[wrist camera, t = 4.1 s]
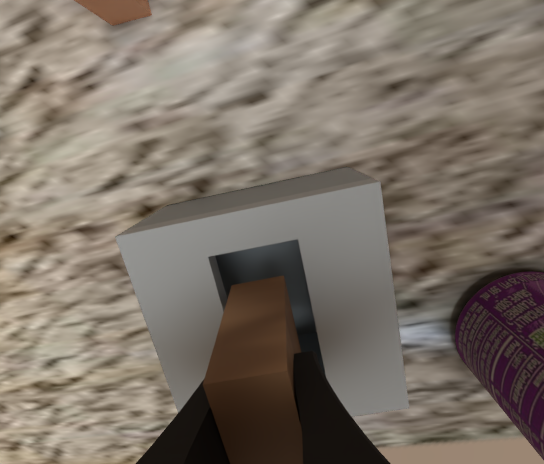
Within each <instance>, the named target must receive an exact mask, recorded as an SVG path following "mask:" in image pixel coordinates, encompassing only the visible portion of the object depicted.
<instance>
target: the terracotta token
mask: <svg viewBox="0 0 544 464" xmlns="http://www.w3.org/2000/svg"><path fill="white" fill-rule="evenodd" d="M75 1H76V2H78V3H79V4H81V5H82V6H84V7H85V8H87V9H88V10H90V11H91V12H93V13H94V14H96V15H97V16H99V17H100V18H102V19H103V20H105V21H106V22H108V23H110V24H111V25H117V24H121V23H124V22H128V21H132V20H136V19H139V18H143V17H147V16H151V15H152V13H151V10H150V6H149V3H148V0H75Z"/></svg>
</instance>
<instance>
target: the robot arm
mask: <svg viewBox="0 0 544 464" xmlns="http://www.w3.org/2000/svg"><path fill="white" fill-rule="evenodd" d="M293 377H294V383H295V389H296V395H297V401H298V407H299V413H300V419H301V428H302V444H303V464H390V463H389V462H388V461H387V459H386V458H385V457H384V456H383V455H382V454H381V453H380V452H379V451H378V449H377V448H376V447H375V446H374V445H373V443H372V442H371V441H370V440H369V439H368V438H367V436H366V435H365V434H364V433H363V431H362V430H361V429H360V428H359V426H358V425H357V424H356V422H355V421H354V420H353V418H352V417H351V416H350V414H349V413H348V411H347V410H346V409H345V407H344V406H343V404H342V403H341V401H340V400H339V398H338V397H337V395H336V393H335V392H334V390H333V389H332V387H331V385H330V384H329V382H328V380H327V378H326V376H325V374H324V372H323V371H322V368H321V366H320V364H319V361H318V358H317V354H316V353H315V352H314V351H307V352H301V353H295V354H294V361H293ZM204 379H205V378H204ZM203 382H204V380H203V381H202V382H201V384H200V385H199V386H198V388H197V389H196V390H195V392H194V393H193V394H192V396H191V397H190V398H189V400H188V401H187V402H186V404H185V405H184V406H183V408H182V409H181V410H180V412H179V413H178V414H177V416H176V417H175V418H174V419H173V421H172V422H171V423H170V424H169V425H168V427H167V428H166V429H165V430H164V431H163V433H162V434H161V435H160V436H159V437H158V439H157V440H156V441H155V442H154V443H153V445H152V446H151V447H150V448H149V449H148V451H147V452H146V453H145V454H144V455H143V456H142V457H141V458H140V459H139V460H138V462H137V463H136V464H230V462H229V459H228V456H227V453H226V450H225V447H224V445H223V442H222V439H221V436H220V433H219V430H218V427H217V424H216V422H215V419H214V416H213V413H212V410H211V407H210V404H209V401H208V399H207V396H206V393H205V390H204V387H203Z"/></svg>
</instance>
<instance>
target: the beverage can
mask: <svg viewBox="0 0 544 464" xmlns="http://www.w3.org/2000/svg"><path fill="white" fill-rule="evenodd" d="M455 341H456V347H457V350H458V353H459V355H460V357H461V358H462V360H463V361H464V363H465V364H466V365H467V366H468V368H469V369H470V370H471V371H472V373H473V374H474V375H475V376H476V377H477V379H478V380H479V381H480V382H481V384H482V385H483V386H484V387H485V389H486V390H487V391H488V392H489V393H490V395H491V396H492V397H493V398H494V400H495V401H496V402H497V403H498V405H499V406H500V407H501V408H502V409H503V411H504V412H505V413H506V414H507V416H508V417H509V418H510V419H511V421H512V422H513V423H514V424H515V425H516V427H517V428H518V429H519V430H520V432H521V433H522V434H523V435H524V437H525V438H526V439H527V440H528V441H529V443H530V444H531V445H532V446H533V448H534V449H535V450H536V451H537V453H538V454H539V455H540V456H541V457H542V459H543V460H544V273H543V272H520V273H514V274H510V275H507V276H504V277H501V278H499V279H497V280H495V281H493V282H491V283H489V284H487V285H486V286H484V287H483V288H482V289H480V290H479V291H478V292H477V293H476V294H475V295H474V296H473V297H472V298H471V299H470V300H469V301H468V302H467V304H466V305H465V307H464V308H463V310H462V312H461V314H460V316H459V318H458V321H457V325H456V331H455Z"/></svg>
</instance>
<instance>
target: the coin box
mask: <svg viewBox="0 0 544 464" xmlns="http://www.w3.org/2000/svg"><path fill="white" fill-rule="evenodd" d="M115 238H116V241H117V243H118V246H119V249H120V252H121V254H122V257H123V260H124V263H125V266H126V268H127V271H128V274H129V277H130V279H131V282H132V285H133V288H134V291H135V293H136V296H137V299H138V302H139V305H140V307H141V310H142V313H143V316H144V318H145V321H146V324H147V327H148V330H149V332H150V335H151V338H152V341H153V344H154V346H155V349H156V352H157V355H158V357H159V360H160V363H161V366H162V369H163V371H164V374H165V377H166V380H167V383H168V385H169V388H170V391H171V394H172V396H173V399H174V402H175V405H176V408H177V410H178V413H179V412H180V410H181V409H182V408H183V406H184V405H185V404H186V402H187V401H188V400H189V398H190V397H191V396H192V394H193V393H194V392H195V390H196V389H197V388H198V386H199V385H200V384H201V382H202V381H203V380H204V378H205V375H206V372H207V368H208V365H209V361H210V358H211V355H212V351H213V348H214V344H215V341H216V337H217V334H218V330H219V327H220V324H221V320H222V317H223V313H224V310H225V306H226V303H227V300H228V296H229V293H230V289H231V286H232V285H236V284H241V283H246V282H251V281H257V280H262V279H267V278H272V277H278V276H283V275H284V278H285V282H286V287H287V291H288V296H289V300H290V304H291V309H292V313H293V318H294V322H295V326H296V331H297V335H298V340H299V344H300V348H301V352H307V351H314V352H315V353H316V354H317V358H318V361H319V364H320V366H321V368H322V371H323V372H324V374H325V376H326V378H327V380H328V382H329V384H330V385H331V387H332V389H333V390H334V392H335V393H336V395H337V397H338V398H339V400H340V401H341V403H342V404H343V406H344V407H345V409H346V410H347V411H348V413H349V414H350V416H351V417H353V416H360V415H367V414H373V413H380V412H387V411H393V410H400V409H407V408H409V402H408V394H407V386H406V379H405V371H404V363H403V355H402V347H401V340H400V332H399V324H398V316H397V308H396V301H395V293H394V285H393V277H392V269H391V262H390V254H389V246H388V238H387V230H386V223H385V215H384V207H383V199H382V191H381V184H380V181H378V180H376V179H374V178H371V177H369V176H367V175H365V174H362V173H360V172H358V171H356V170H354V169H351V168H349V167H344V168H340V169H335V170H330V171H326V172H321V173H316V174H312V175H307V176H302V177H298V178H293V179H288V180H284V181H279V182H274V183H269V184H265V185H260V186H255V187H251V188H246V189H241V190H237V191H232V192H227V193H223V194H218V195H213V196H209V197H204V198H199V199H195V200H190V201H185V202H181V203H176V204H171V205H167V206H165V207H164V208H162V209H160V210H159V211H157V212H155V213H154V214H152V215H150V216H149V217H147V218H145V219H144V220H142V221H140V222H139V223H137V224H135V225H134V226H132V227H130V228H129V229H127V230H125V231H124V232H122V233H121V234H119V235H117V236H116V237H115Z"/></svg>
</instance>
